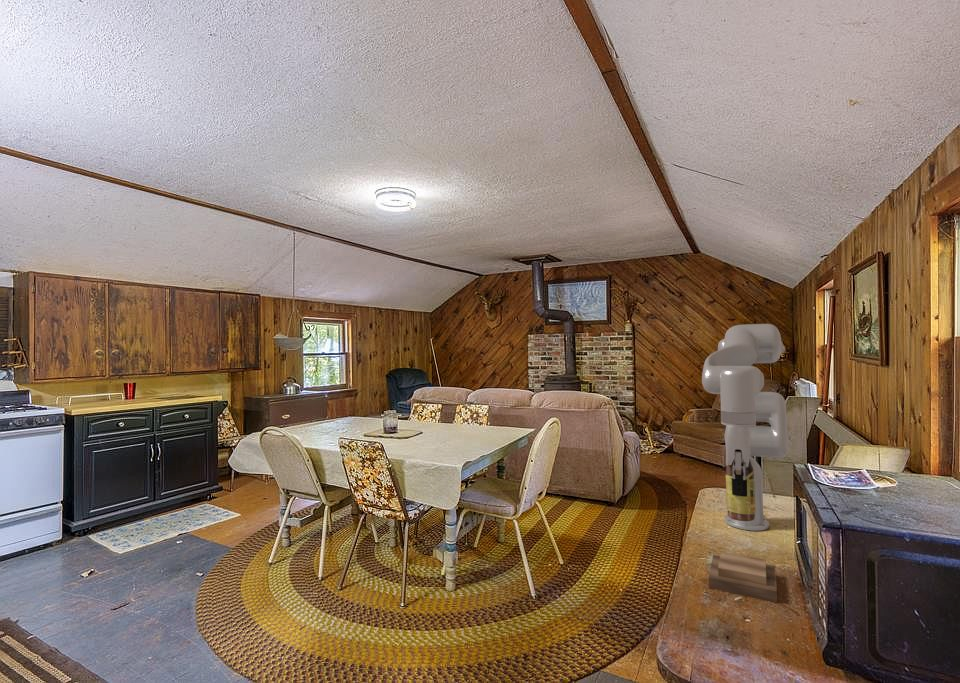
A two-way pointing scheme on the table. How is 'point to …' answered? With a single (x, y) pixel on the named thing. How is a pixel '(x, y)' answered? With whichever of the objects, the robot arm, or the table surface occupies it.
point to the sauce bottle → (741, 505)
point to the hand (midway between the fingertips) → (740, 490)
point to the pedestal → (743, 576)
